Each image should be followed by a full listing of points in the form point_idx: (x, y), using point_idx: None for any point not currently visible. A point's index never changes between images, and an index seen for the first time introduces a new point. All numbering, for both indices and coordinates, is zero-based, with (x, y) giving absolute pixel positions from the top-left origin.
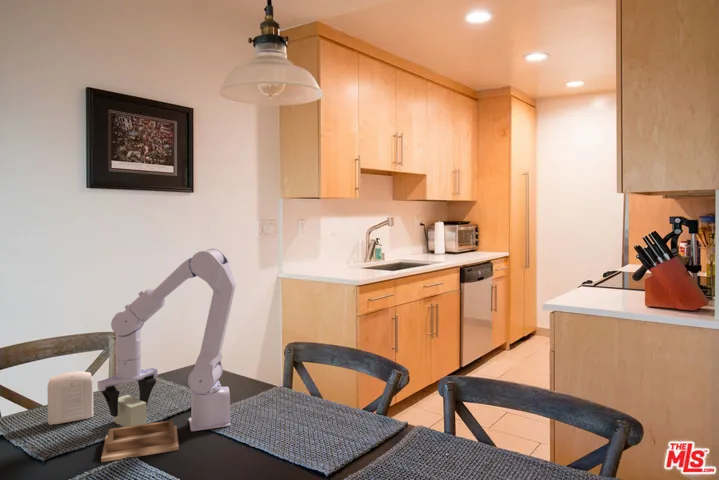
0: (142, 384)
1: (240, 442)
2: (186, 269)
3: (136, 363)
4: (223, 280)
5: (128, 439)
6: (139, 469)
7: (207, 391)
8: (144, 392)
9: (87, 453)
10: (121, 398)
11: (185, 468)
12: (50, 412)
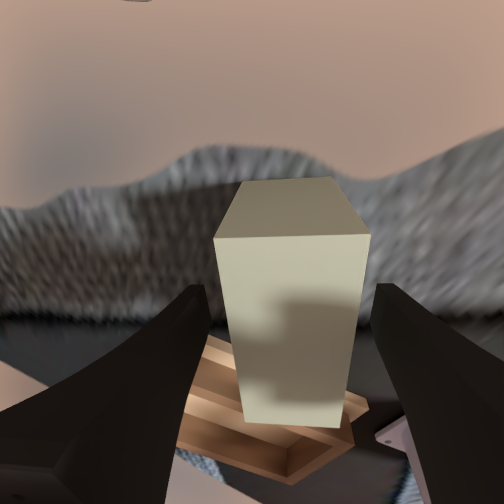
0: (467, 479)
1: (393, 501)
2: None
3: None
4: None
5: (186, 445)
6: (190, 455)
7: None
8: (418, 410)
9: (105, 354)
10: (274, 279)
11: (254, 489)
12: None
